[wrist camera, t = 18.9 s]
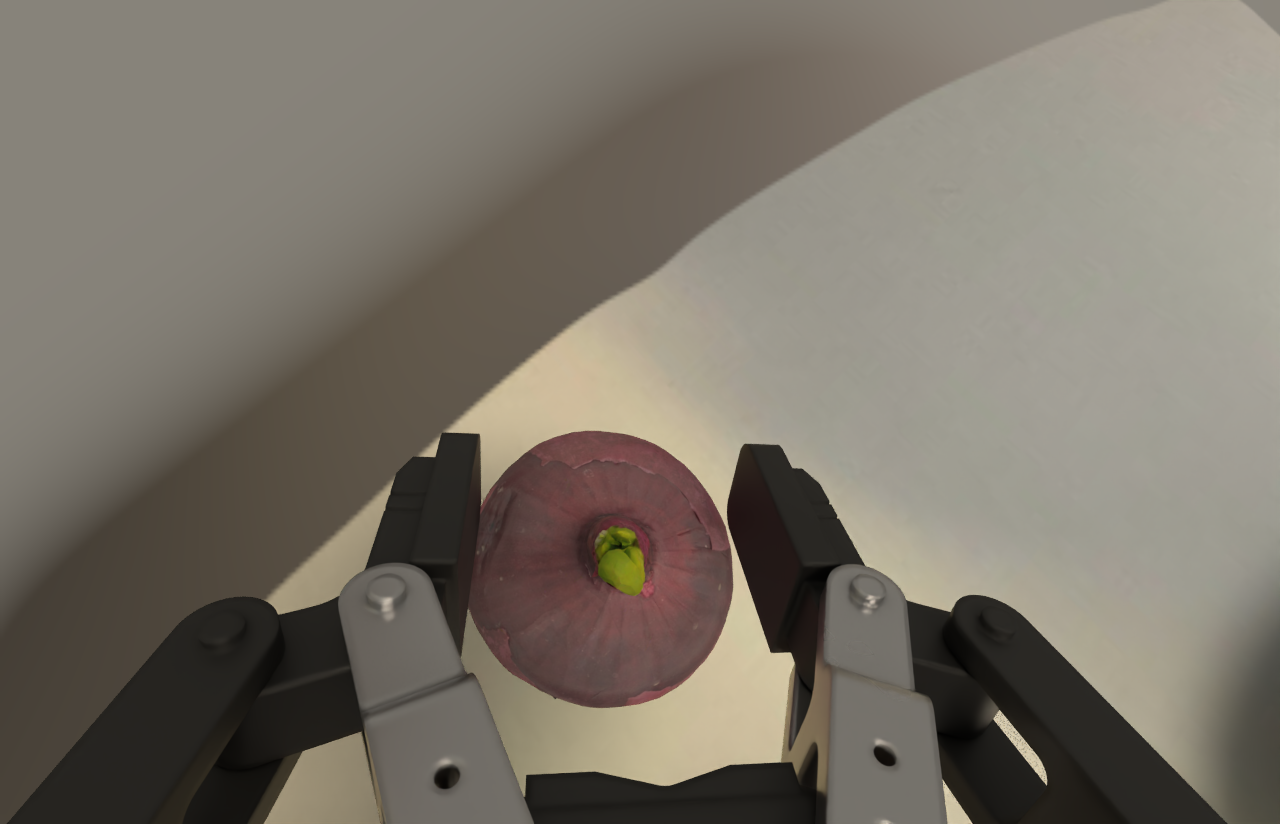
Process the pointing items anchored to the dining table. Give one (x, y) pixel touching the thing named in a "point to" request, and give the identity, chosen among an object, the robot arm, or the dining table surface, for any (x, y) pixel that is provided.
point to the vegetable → (600, 570)
